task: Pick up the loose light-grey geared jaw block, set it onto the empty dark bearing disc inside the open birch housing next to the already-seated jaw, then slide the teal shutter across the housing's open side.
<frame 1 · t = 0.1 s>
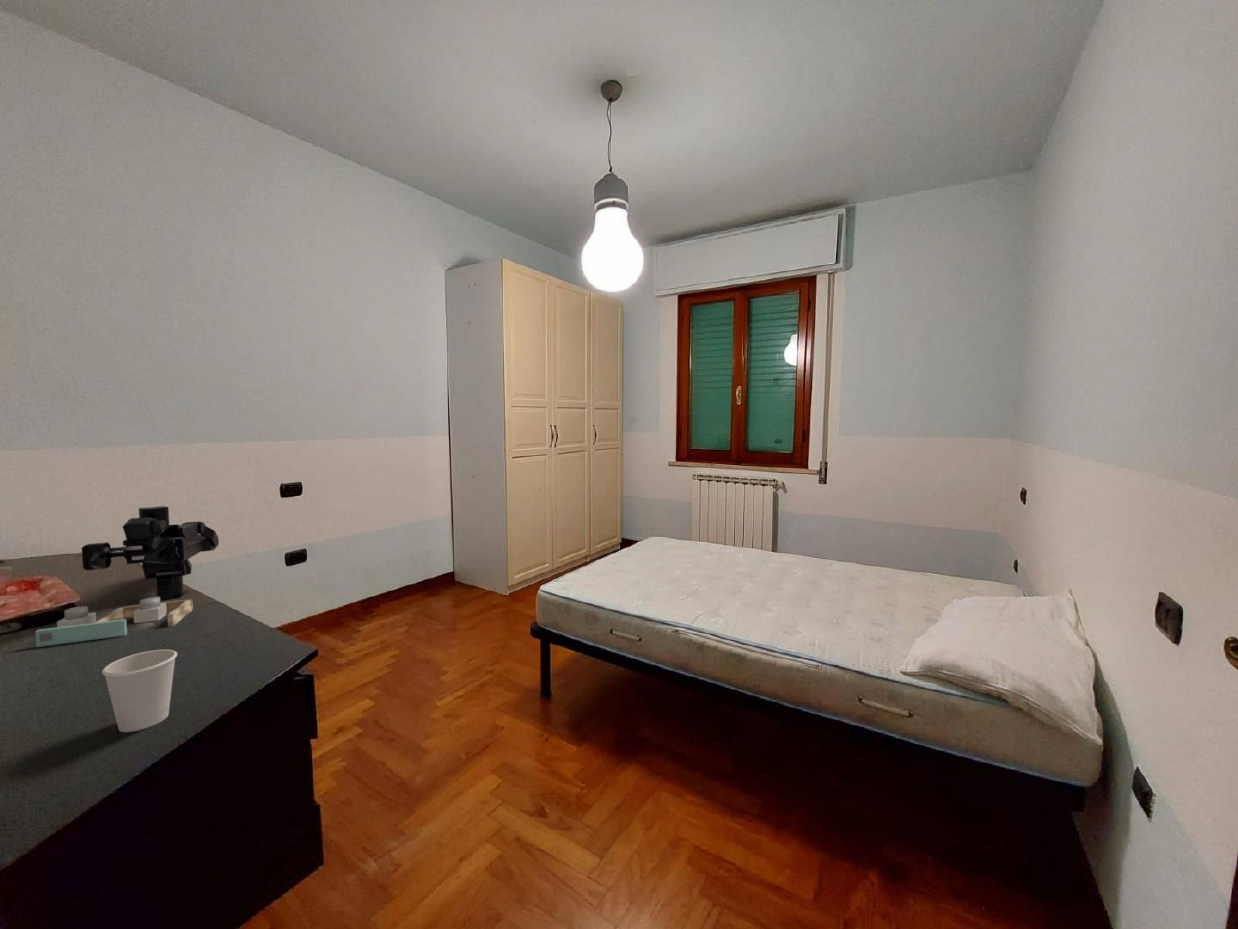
hand: (118, 561, 109), 17 cm above the cabinet, tool horizontal, fingers open, 9 cm apart
dixie cup: (144, 722, 74), on the cabinet
housing: (146, 622, 114), on the cabinet
jaw b: (77, 629, 110), on the cabinet
jaw a: (150, 618, 116), resting on housing
shutter: (82, 633, 103), point 2 cm above the cabinet, slide at 7.5 cm
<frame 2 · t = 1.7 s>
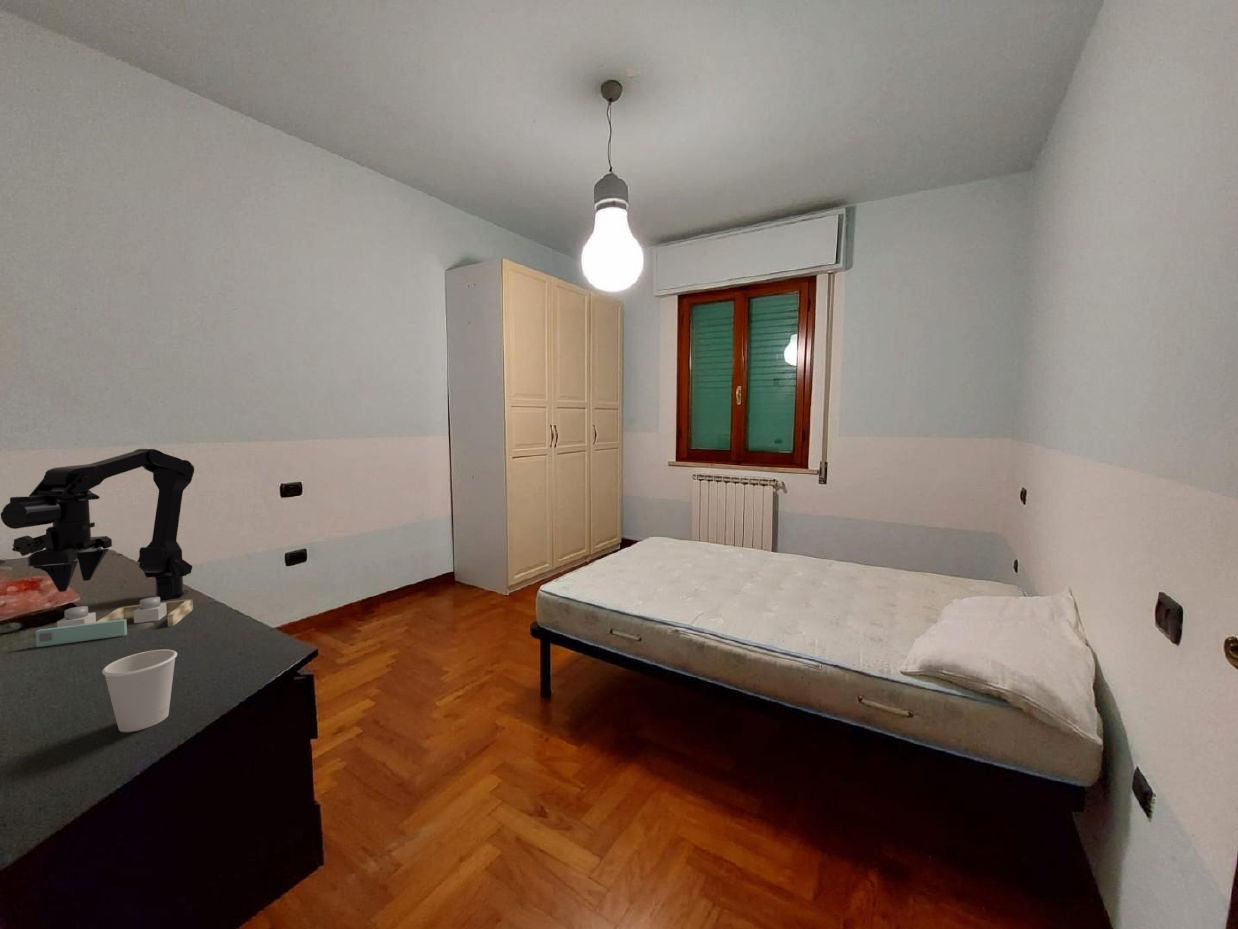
hand: (75, 585, 109), 10 cm above the cabinet, tool pointing down, fingers open, 9 cm apart
nothing on the cabinet moved.
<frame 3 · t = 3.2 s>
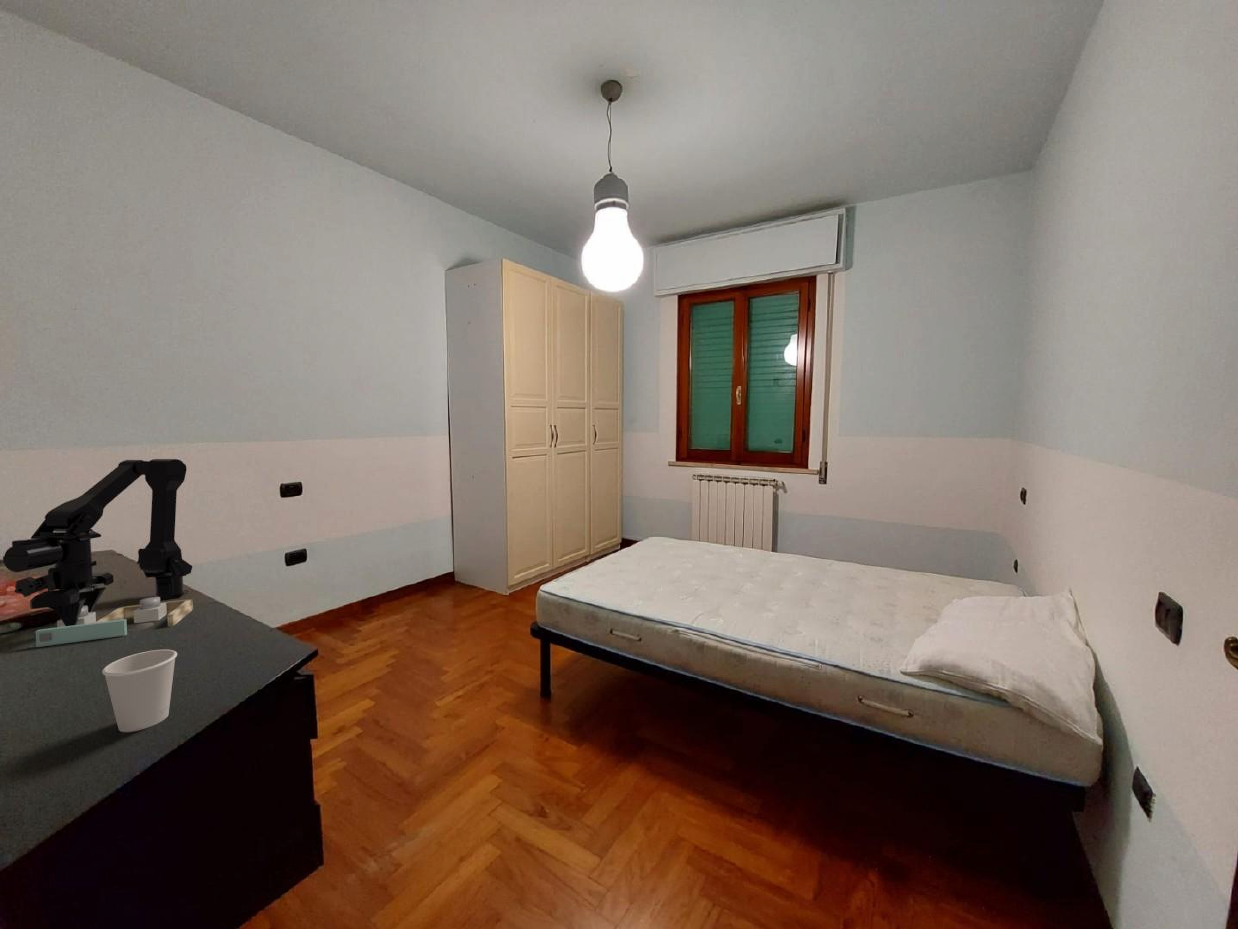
hand: (77, 624, 110), 1 cm above the cabinet, tool pointing down, fingers closed on jaw b, 4 cm apart
jaw b: (77, 628, 110), on the cabinet, touching gripper
everything else where it was.
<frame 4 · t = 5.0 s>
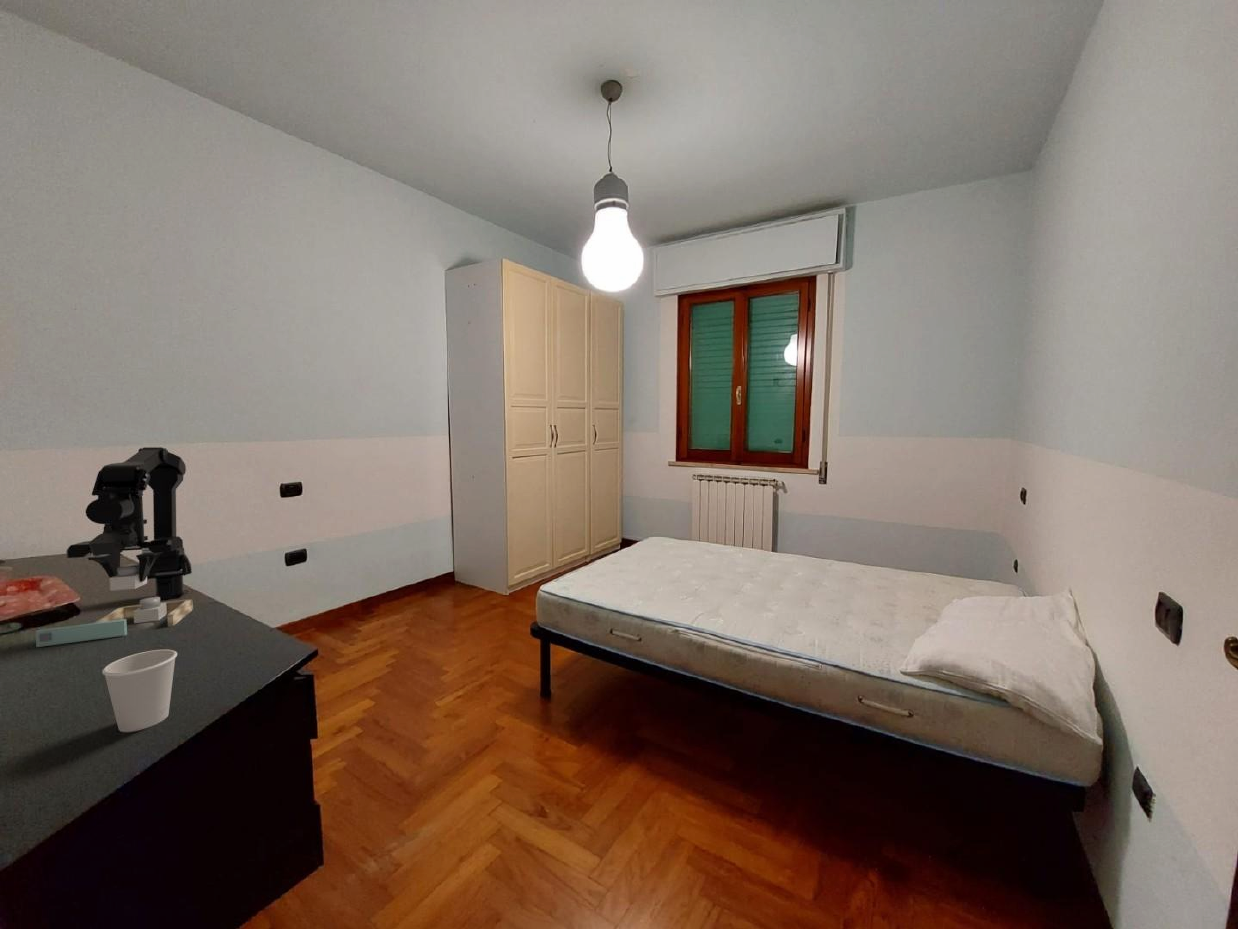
hand: (129, 582, 110), 11 cm above the cabinet, tool pointing down, fingers closed on jaw b, 4 cm apart
jaw b: (129, 586, 110), point 10 cm above the cabinet, touching gripper
everything else where it was.
when the fingers open (3 cm above the cabinet, at t = 7.0 s): jaw b drops 2 cm, resting on housing.
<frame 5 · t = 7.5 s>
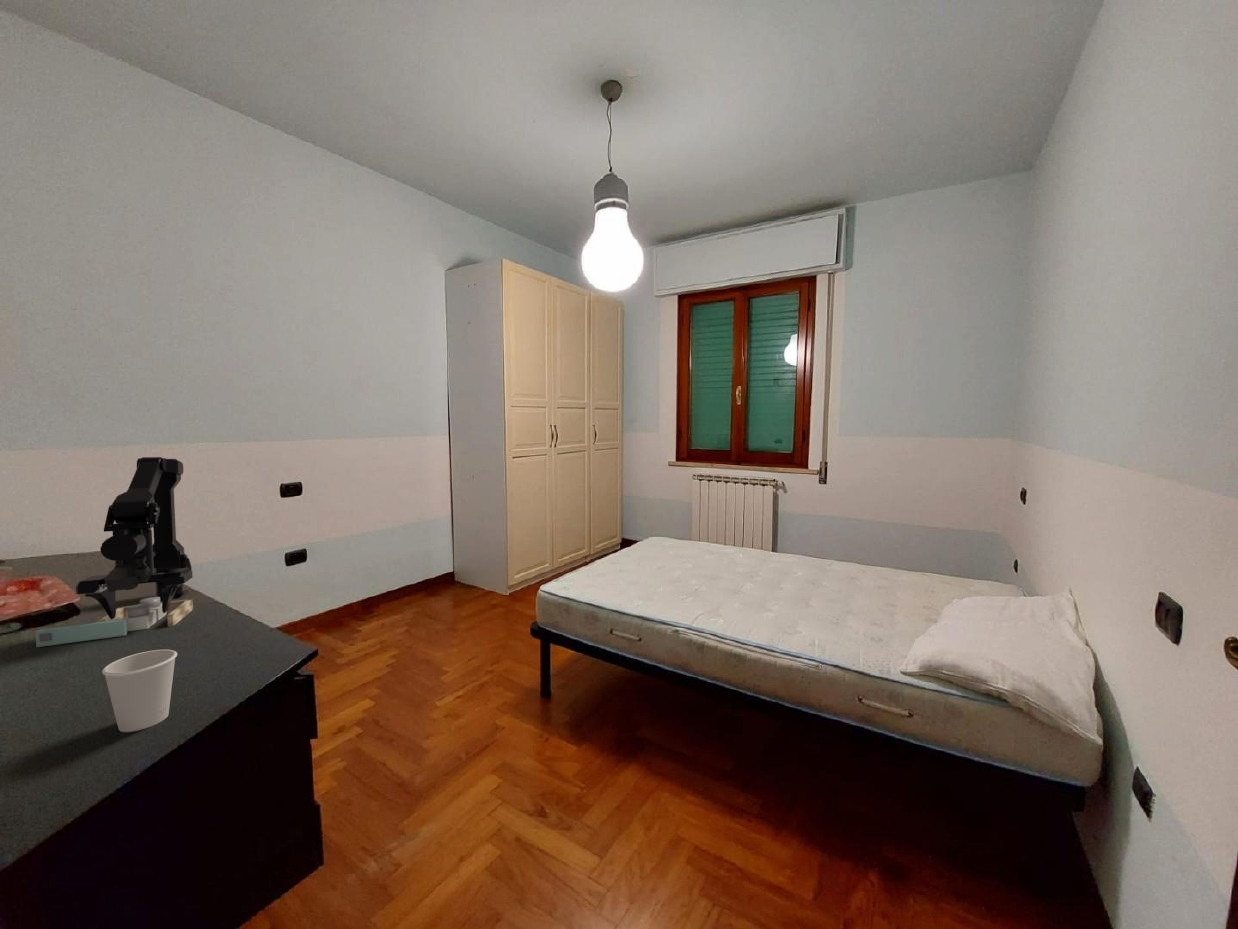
hand: (139, 615, 111), 3 cm above the cabinet, tool pointing down, fingers open, 9 cm apart
jaw b: (139, 626, 111), resting on housing
everything else where it was.
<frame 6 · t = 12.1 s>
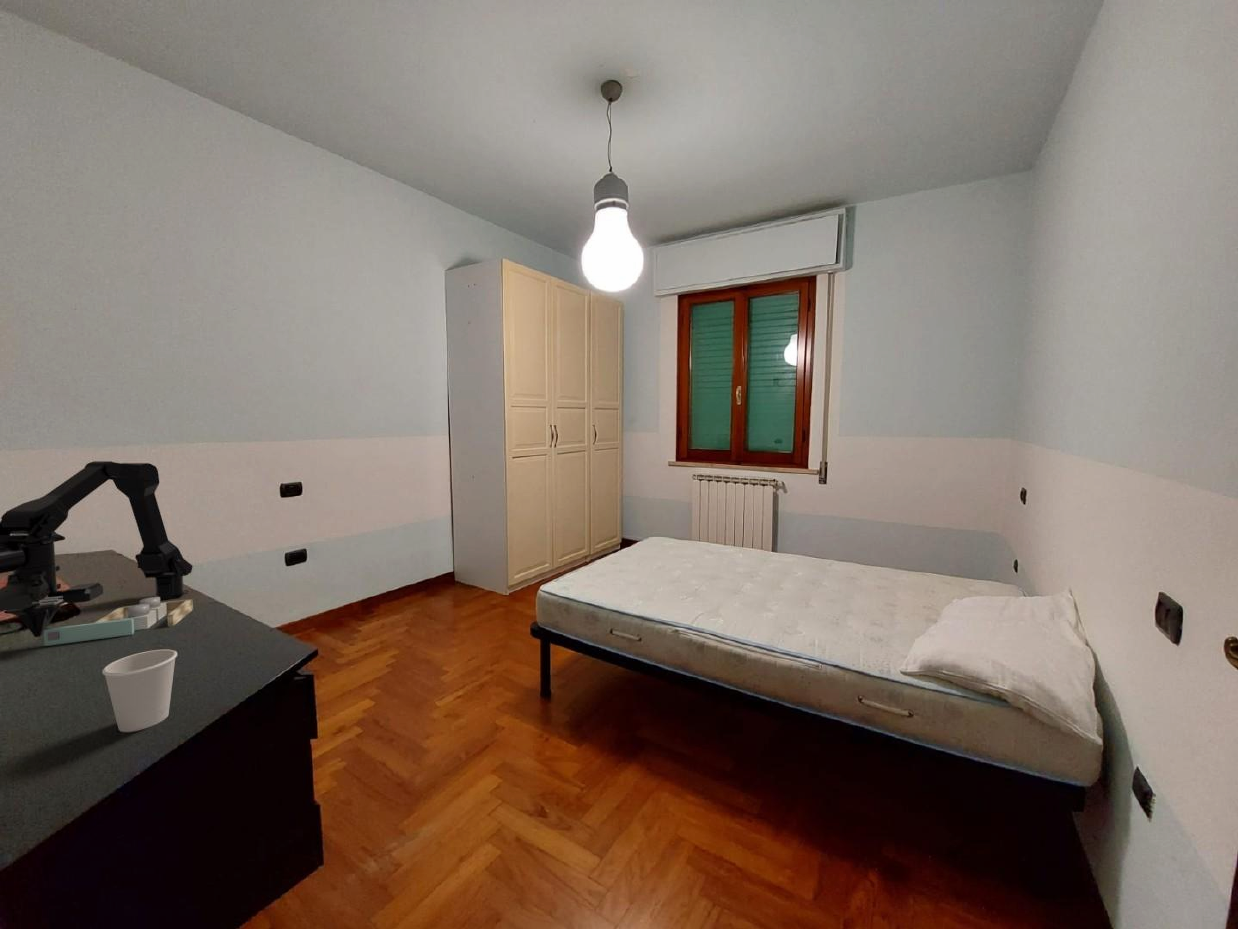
hand: (39, 636, 100), 2 cm above the cabinet, tool pointing down, fingers closed
shutter: (90, 632, 103), point 2 cm above the cabinet, slide at 6.3 cm, touching gripper
everything else where it was.
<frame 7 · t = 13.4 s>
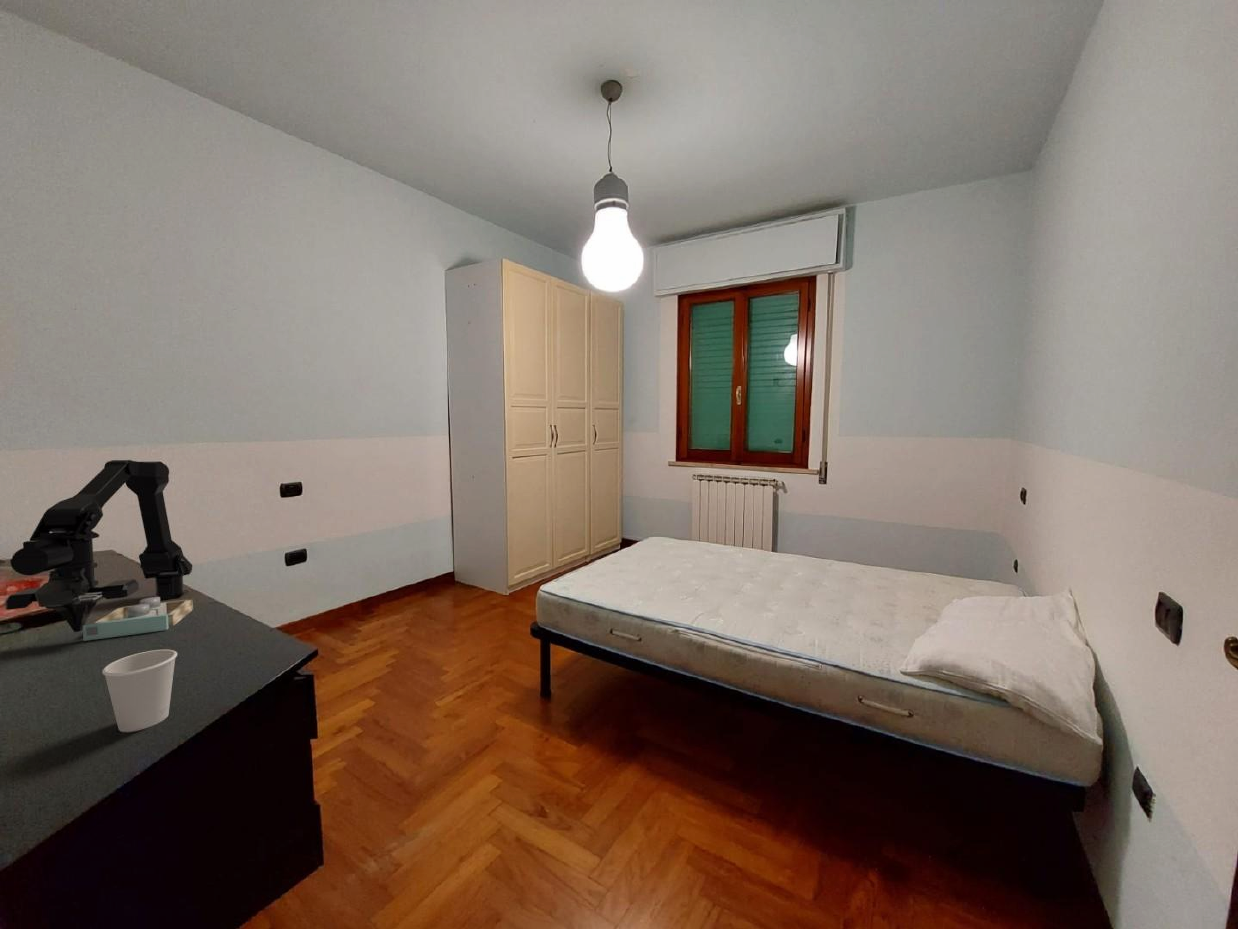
hand: (78, 631, 103), 2 cm above the cabinet, tool pointing down, fingers closed
shutter: (126, 627, 106), point 2 cm above the cabinet, slide at 0.2 cm, touching gripper
everything else where it was.
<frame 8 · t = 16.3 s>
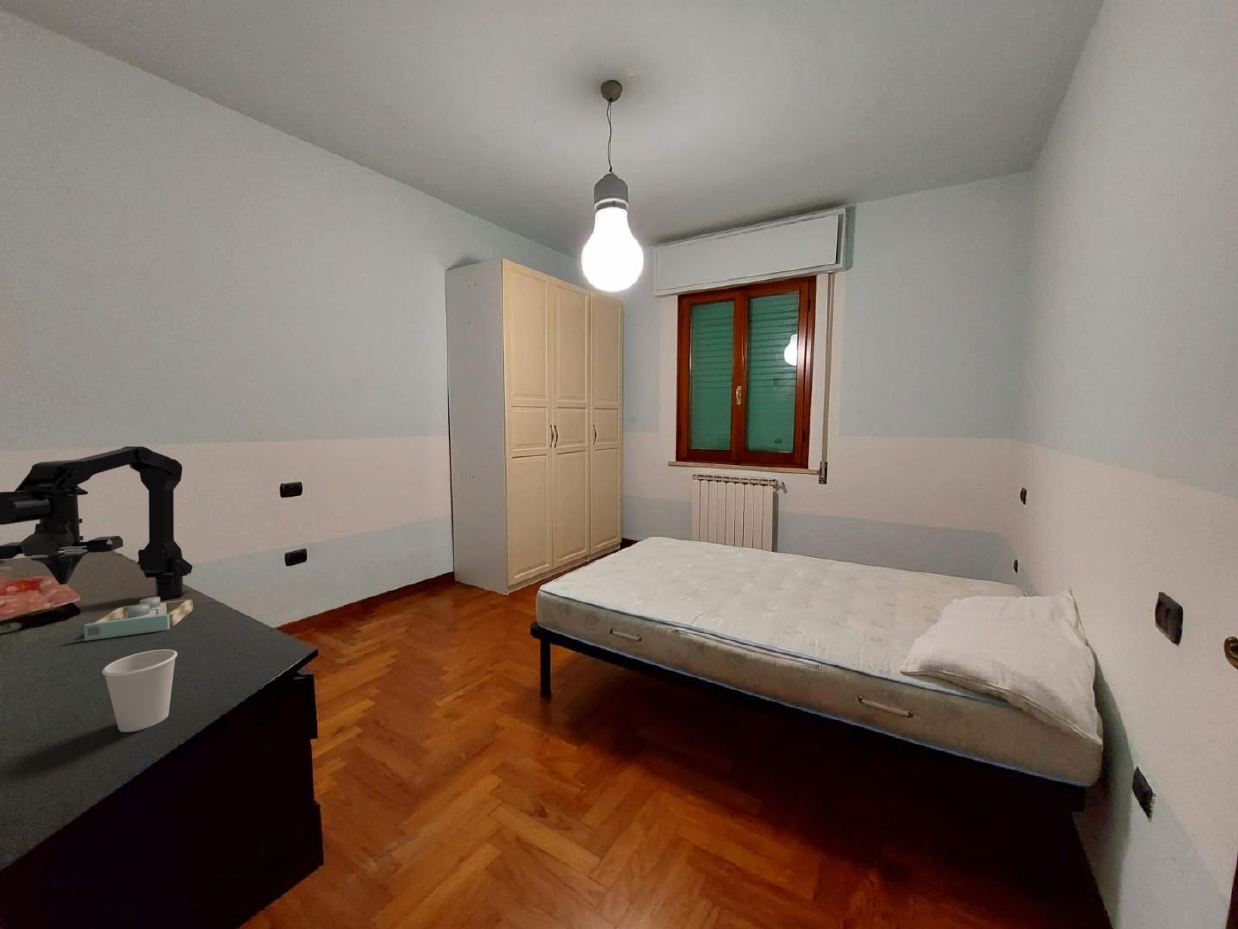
hand: (63, 584, 106), 12 cm above the cabinet, tool pointing down, fingers closed
shutter: (127, 627, 106), point 2 cm above the cabinet, slide at 0.1 cm
everything else where it was.
at the end: jaw b 0.2 cm from the target spot, resting on housing; shutter slide at 0.1 cm; jaw a moved 0.0 cm from its start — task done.
